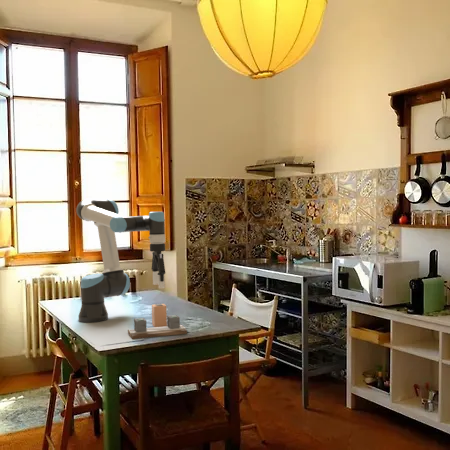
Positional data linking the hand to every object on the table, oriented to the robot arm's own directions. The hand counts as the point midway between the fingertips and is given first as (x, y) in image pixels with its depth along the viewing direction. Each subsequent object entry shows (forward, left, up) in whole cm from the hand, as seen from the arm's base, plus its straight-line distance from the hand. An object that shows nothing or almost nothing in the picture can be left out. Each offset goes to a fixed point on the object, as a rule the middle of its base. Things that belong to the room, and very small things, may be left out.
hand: (158, 286), depth 260 cm
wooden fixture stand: (+16, -5, -19) cm, 25 cm away
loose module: (0, 0, -19) cm, 19 cm away
